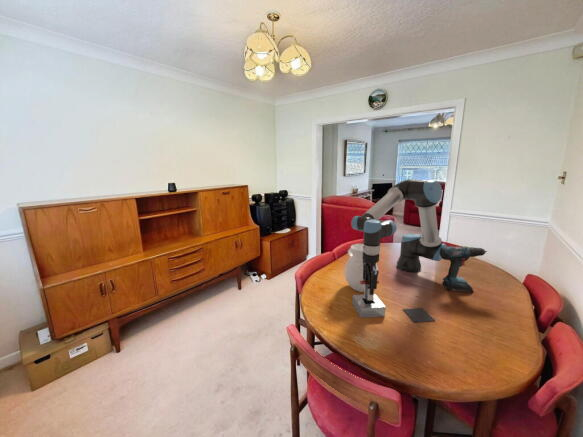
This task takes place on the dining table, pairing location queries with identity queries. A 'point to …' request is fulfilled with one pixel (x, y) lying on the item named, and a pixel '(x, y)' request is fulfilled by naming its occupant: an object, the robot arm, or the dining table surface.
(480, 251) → the power drill
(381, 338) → the dining table surface
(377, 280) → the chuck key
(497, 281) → the dining table surface
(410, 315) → the mat
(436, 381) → the dining table surface
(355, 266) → the white vase
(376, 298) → the block
